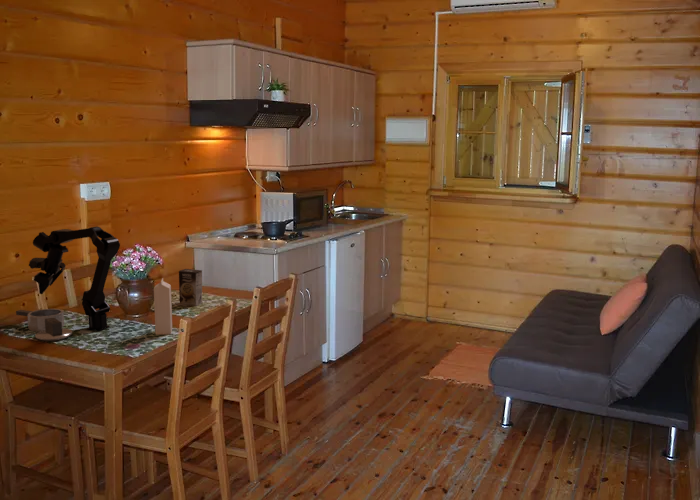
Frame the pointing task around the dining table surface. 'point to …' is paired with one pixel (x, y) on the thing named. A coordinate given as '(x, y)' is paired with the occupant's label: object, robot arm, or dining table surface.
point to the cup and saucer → (53, 331)
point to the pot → (41, 317)
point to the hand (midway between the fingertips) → (45, 289)
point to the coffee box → (190, 287)
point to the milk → (163, 308)
